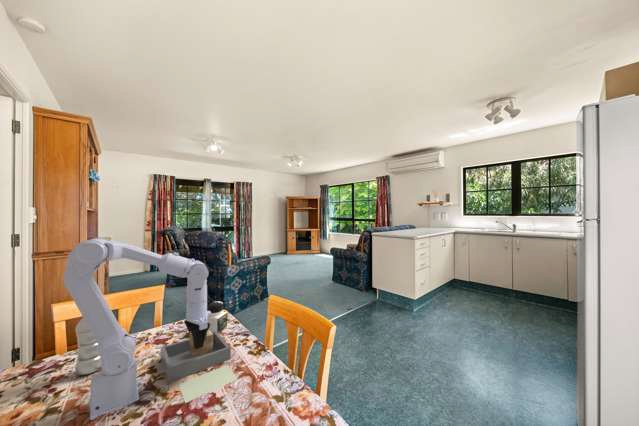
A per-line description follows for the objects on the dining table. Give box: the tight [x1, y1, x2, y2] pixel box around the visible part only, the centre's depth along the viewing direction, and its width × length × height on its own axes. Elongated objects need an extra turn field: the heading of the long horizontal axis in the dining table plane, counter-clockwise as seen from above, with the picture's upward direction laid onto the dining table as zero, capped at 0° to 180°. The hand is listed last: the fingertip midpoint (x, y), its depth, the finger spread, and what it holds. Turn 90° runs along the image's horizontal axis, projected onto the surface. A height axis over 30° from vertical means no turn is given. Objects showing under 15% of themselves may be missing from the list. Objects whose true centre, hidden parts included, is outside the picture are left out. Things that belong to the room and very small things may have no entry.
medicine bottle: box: [207, 300, 228, 335], centre depth 103 cm, size 7×7×12 cm
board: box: [178, 364, 238, 404], centre depth 70 cm, size 14×9×1 cm, turn 131°
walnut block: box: [188, 331, 207, 356], centre depth 74 cm, size 4×4×6 cm
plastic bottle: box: [74, 315, 101, 376], centre depth 76 cm, size 6×7×20 cm
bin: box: [160, 331, 232, 384], centre depth 81 cm, size 18×16×4 cm
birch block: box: [201, 331, 213, 355], centre depth 86 cm, size 4×4×6 cm
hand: (196, 344), depth 74 cm, fingers closed on walnut block, 4 cm apart
